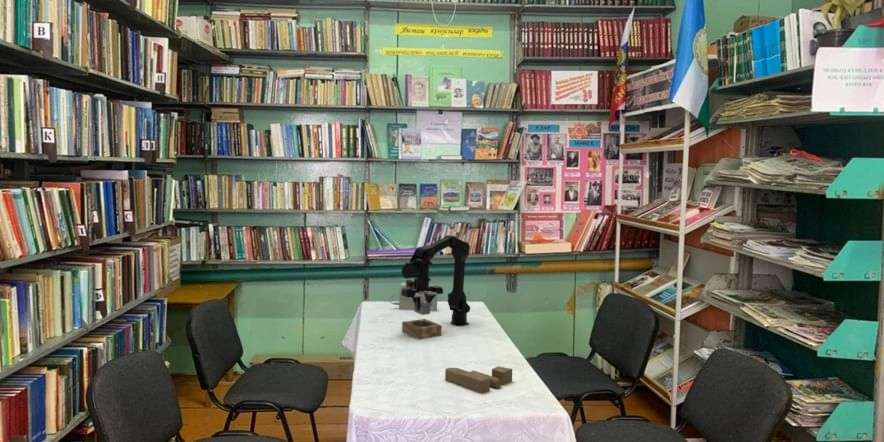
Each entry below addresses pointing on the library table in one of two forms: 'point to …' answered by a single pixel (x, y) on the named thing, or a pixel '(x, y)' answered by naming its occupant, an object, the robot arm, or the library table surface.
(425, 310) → the block
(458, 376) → the wooden block set
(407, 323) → the pocket plate
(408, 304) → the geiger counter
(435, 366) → the library table surface
